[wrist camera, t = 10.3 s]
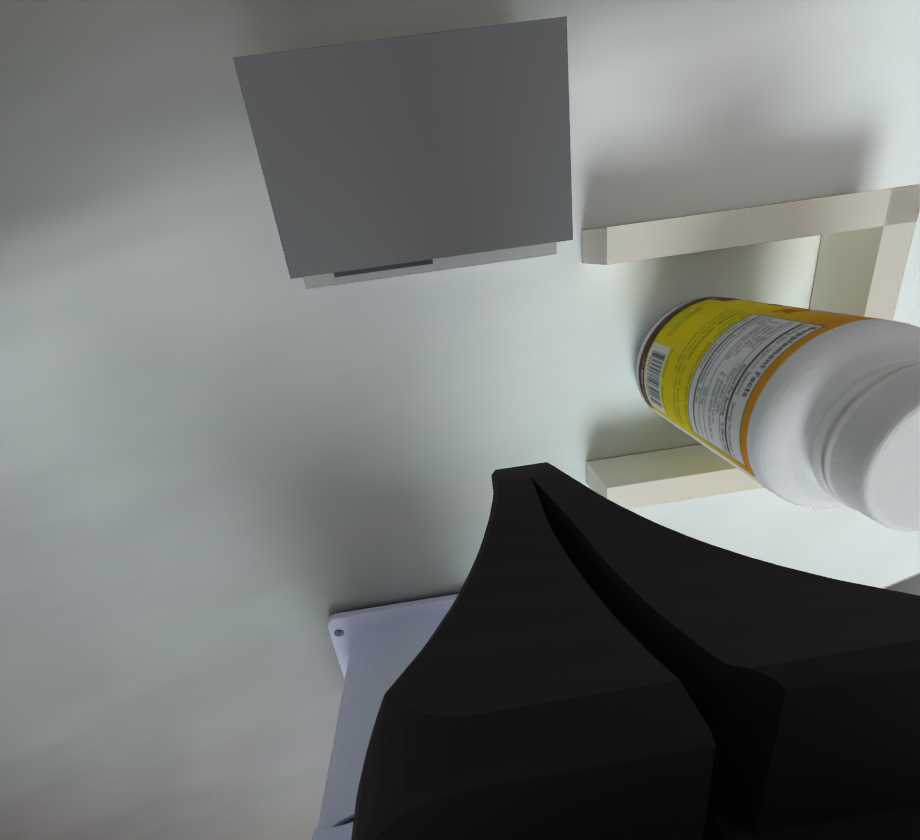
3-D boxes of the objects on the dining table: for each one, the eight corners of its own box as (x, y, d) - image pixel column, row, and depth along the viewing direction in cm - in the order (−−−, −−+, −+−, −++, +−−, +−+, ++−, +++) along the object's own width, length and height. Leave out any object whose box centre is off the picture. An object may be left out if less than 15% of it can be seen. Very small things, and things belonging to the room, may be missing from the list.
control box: (552, 254, 17) (600, 254, 12) (310, 287, 17) (267, 300, 12) (544, 68, 15) (598, -15, 10) (265, 104, 15) (191, 35, 10)
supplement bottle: (774, 357, 19) (1109, 458, 10) (674, 439, 21) (889, 599, 11) (710, 264, 18) (1041, 278, 8) (604, 359, 19) (790, 467, 9)
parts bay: (808, 449, 21) (855, 473, 19) (586, 483, 21) (607, 512, 19) (857, 192, 17) (925, 183, 15) (581, 230, 17) (607, 227, 15)
